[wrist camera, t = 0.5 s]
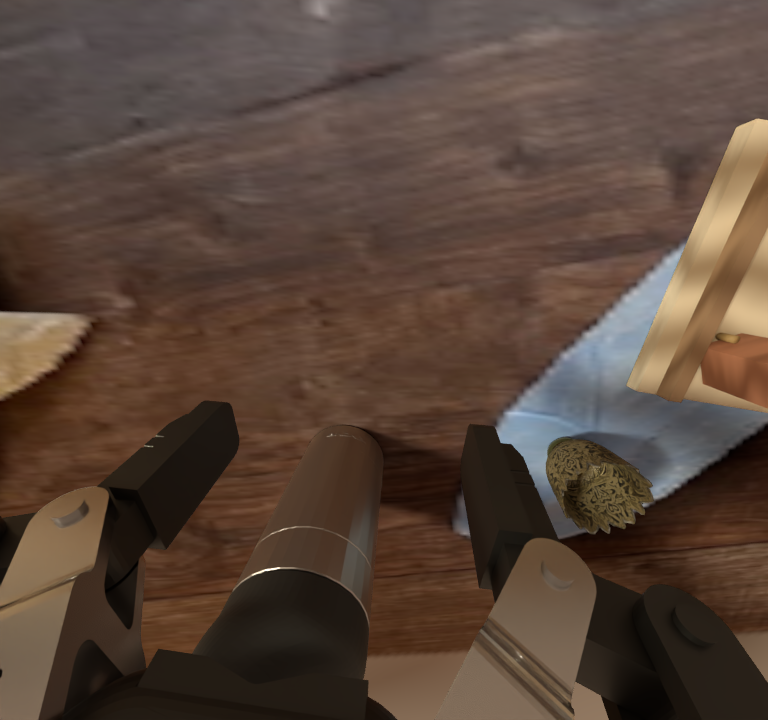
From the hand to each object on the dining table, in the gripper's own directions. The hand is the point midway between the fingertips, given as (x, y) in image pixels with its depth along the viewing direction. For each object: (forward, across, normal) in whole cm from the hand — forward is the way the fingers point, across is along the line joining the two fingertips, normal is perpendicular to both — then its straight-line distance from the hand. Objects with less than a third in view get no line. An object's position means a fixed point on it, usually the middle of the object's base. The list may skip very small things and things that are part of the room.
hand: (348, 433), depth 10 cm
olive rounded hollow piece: (+20, +20, -17) cm, 33 cm away
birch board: (+23, +33, +2) cm, 41 cm away
